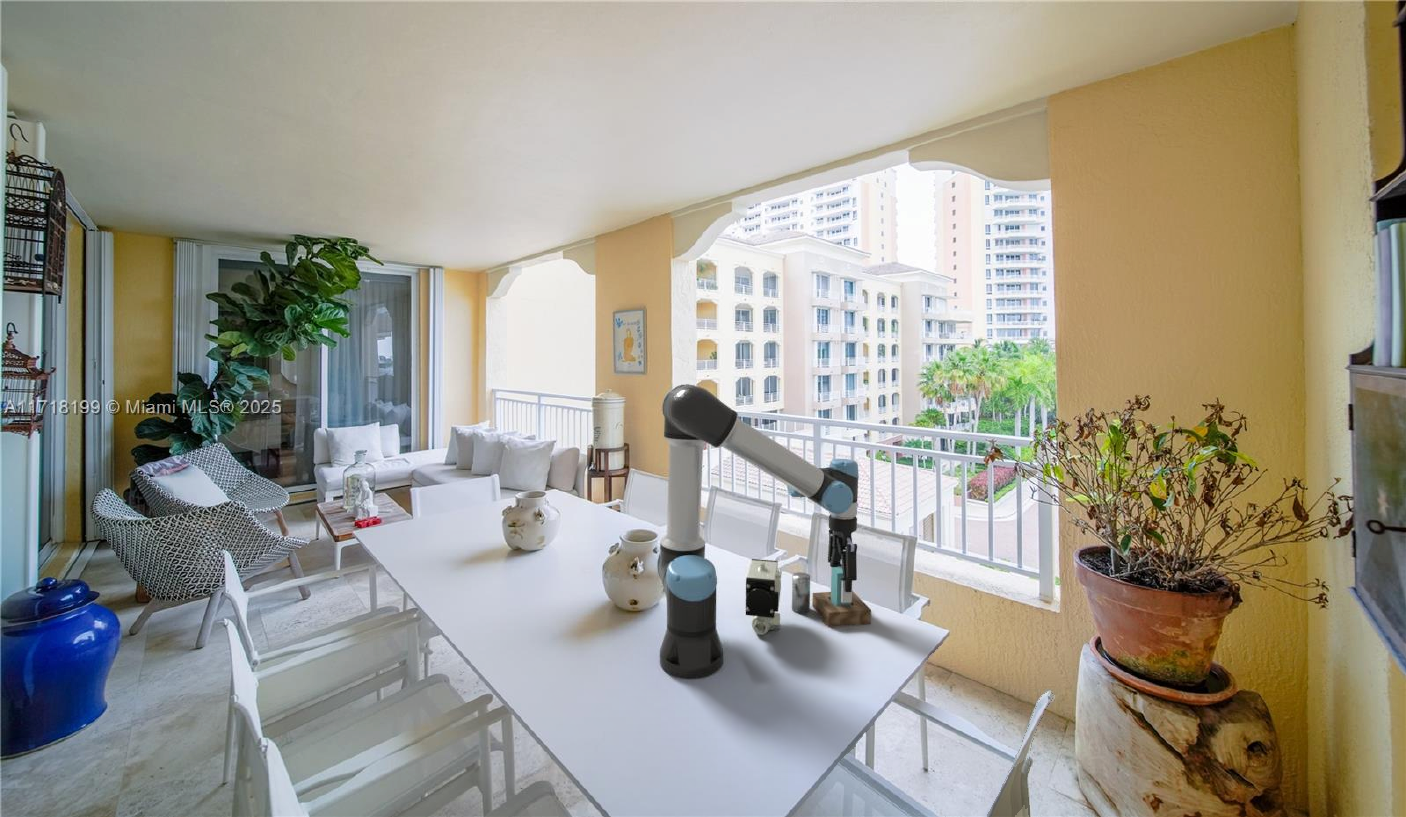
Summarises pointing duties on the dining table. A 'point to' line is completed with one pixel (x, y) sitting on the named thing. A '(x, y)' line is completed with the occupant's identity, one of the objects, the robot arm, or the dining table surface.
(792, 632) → the dining table surface
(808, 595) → the round bit
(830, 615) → the bore block
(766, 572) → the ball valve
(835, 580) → the square bit
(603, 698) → the dining table surface
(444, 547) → the dining table surface
